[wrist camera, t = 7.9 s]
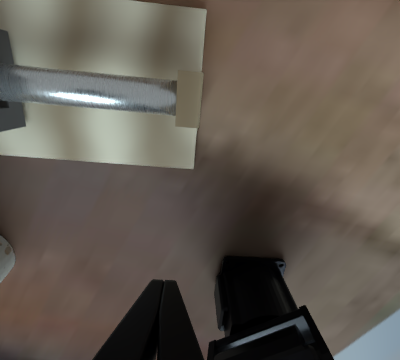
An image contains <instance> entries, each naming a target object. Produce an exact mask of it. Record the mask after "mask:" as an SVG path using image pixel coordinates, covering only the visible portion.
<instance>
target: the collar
mask: <svg viewBox="0 0 400 360" xmlns="http://www.w3.org/2000/svg"><path fill="white" fill-rule="evenodd" d="M0 63H2V64H12V65H14V60H13V55H12V50H11V45H10V40H9V35H8V31H5V30H2V29H0ZM21 127H26V122H25V117H24V112H23V107H22V102H12V101H1V100H0V132H3V131H7V130H12V129H17V128H21Z"/></svg>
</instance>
